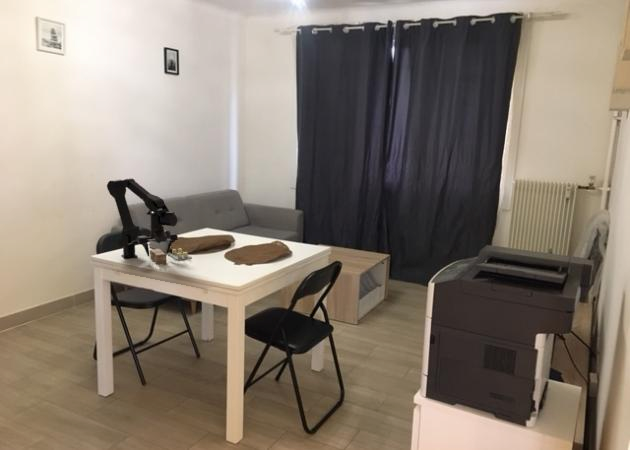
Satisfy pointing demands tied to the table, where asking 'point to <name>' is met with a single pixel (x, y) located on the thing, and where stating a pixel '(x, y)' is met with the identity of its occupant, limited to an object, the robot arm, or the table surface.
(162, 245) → the digital clock
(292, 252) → the table surface
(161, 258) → the tan rectangular block
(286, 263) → the table surface
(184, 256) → the peg stand
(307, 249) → the table surface
